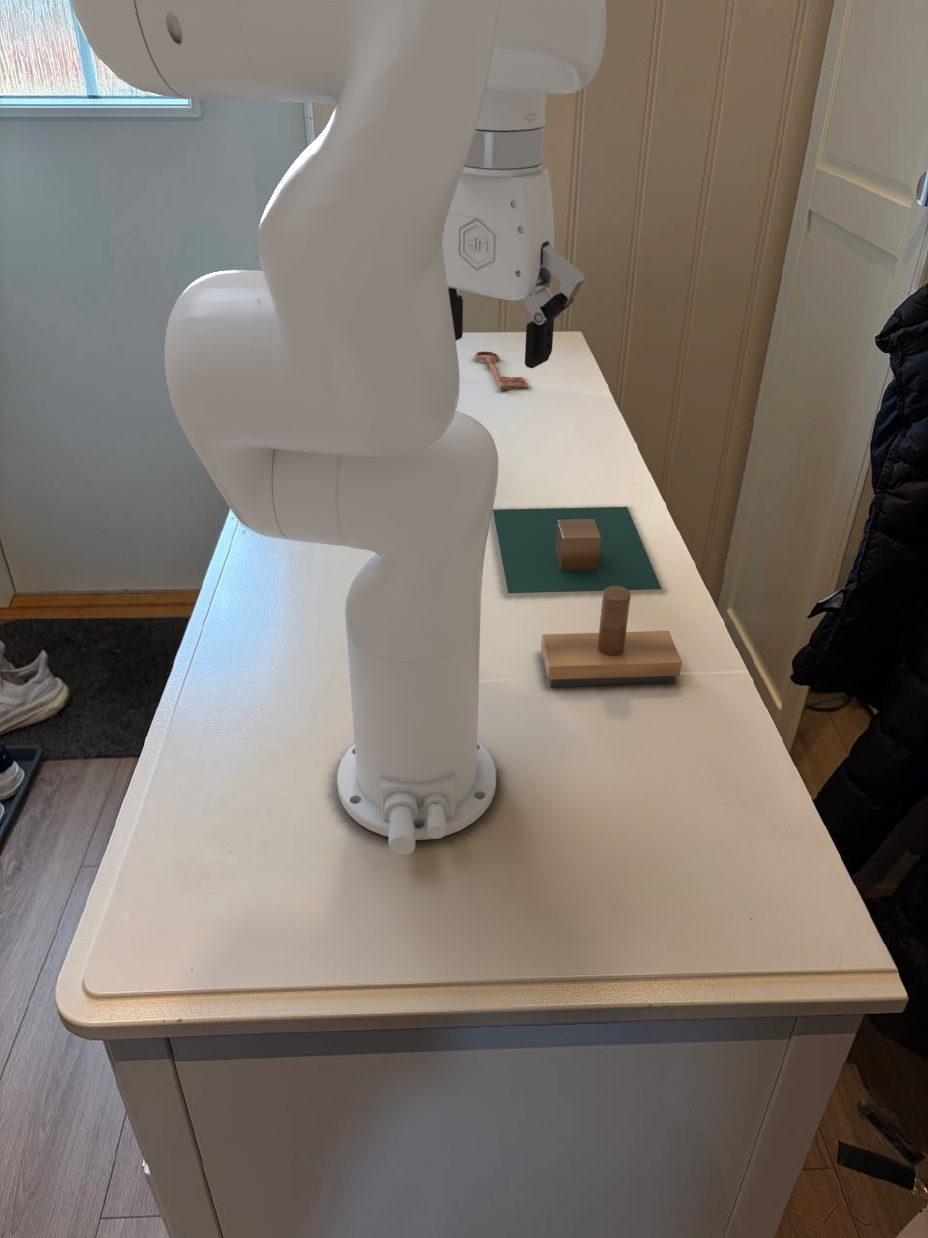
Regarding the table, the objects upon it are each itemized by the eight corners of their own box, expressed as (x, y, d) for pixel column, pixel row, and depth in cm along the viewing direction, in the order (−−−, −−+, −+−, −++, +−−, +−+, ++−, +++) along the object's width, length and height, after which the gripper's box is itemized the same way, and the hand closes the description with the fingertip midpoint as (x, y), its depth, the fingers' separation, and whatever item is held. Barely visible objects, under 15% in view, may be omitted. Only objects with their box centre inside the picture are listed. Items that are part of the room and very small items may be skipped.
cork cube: (597, 569, 105) (601, 537, 103) (560, 570, 105) (563, 538, 103) (591, 550, 109) (594, 518, 106) (555, 551, 108) (557, 519, 106)
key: (527, 391, 148) (507, 356, 160) (528, 385, 148) (508, 350, 160) (489, 390, 147) (472, 354, 159) (490, 384, 146) (473, 349, 159)
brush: (678, 684, 90) (691, 606, 85) (547, 688, 89) (553, 610, 84) (665, 651, 94) (677, 576, 89) (540, 655, 93) (545, 579, 88)
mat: (661, 591, 102) (661, 588, 102) (508, 595, 102) (508, 592, 101) (626, 508, 117) (627, 506, 117) (492, 511, 116) (492, 509, 116)
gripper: (387, 144, 83) (393, 344, 93) (565, 168, 75) (551, 385, 84) (441, 133, 88) (441, 324, 98) (612, 154, 80) (594, 361, 89)
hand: (492, 352), depth 91 cm, fingers open, 9 cm apart
